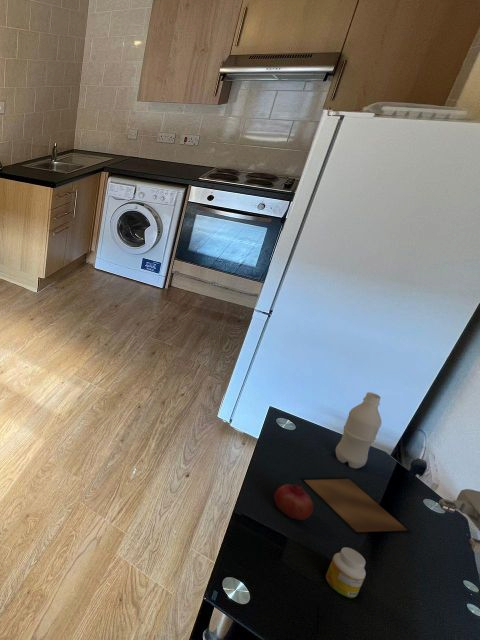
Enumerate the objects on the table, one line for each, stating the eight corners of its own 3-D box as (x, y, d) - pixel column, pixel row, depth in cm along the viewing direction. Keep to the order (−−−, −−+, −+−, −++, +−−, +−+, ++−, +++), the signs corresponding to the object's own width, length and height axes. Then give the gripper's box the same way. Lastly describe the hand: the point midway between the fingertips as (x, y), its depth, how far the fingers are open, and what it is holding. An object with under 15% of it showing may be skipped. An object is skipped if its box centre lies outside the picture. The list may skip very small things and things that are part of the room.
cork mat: (406, 532, 105) (407, 529, 105) (355, 534, 104) (356, 531, 104) (348, 481, 120) (349, 478, 120) (303, 482, 119) (304, 479, 119)
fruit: (299, 533, 104) (310, 503, 101) (265, 508, 111) (274, 479, 108) (314, 519, 108) (324, 490, 105) (280, 496, 114) (289, 468, 112)
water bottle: (331, 450, 132) (355, 385, 124) (361, 460, 128) (387, 393, 120) (334, 464, 126) (359, 396, 119) (365, 475, 122) (393, 406, 115)
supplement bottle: (326, 569, 95) (338, 539, 92) (356, 587, 92) (370, 556, 89) (323, 586, 92) (336, 555, 89) (355, 605, 88) (369, 574, 85)
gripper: (605, 625, 66) (485, 585, 71) (511, 521, 83) (421, 495, 89) (625, 599, 64) (500, 559, 69) (525, 497, 81) (432, 473, 87)
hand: (455, 523), depth 79 cm, fingers open, 8 cm apart
